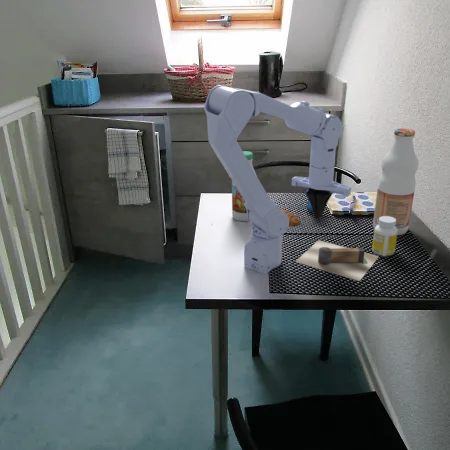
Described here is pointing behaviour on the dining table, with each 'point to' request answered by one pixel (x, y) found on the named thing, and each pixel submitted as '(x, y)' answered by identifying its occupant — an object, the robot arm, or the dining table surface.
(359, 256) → the pointer lever
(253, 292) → the dining table surface
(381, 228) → the supplement bottle
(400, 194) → the fruit juice
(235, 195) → the milk bottle
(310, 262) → the dial board
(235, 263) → the dining table surface
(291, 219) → the pastry
